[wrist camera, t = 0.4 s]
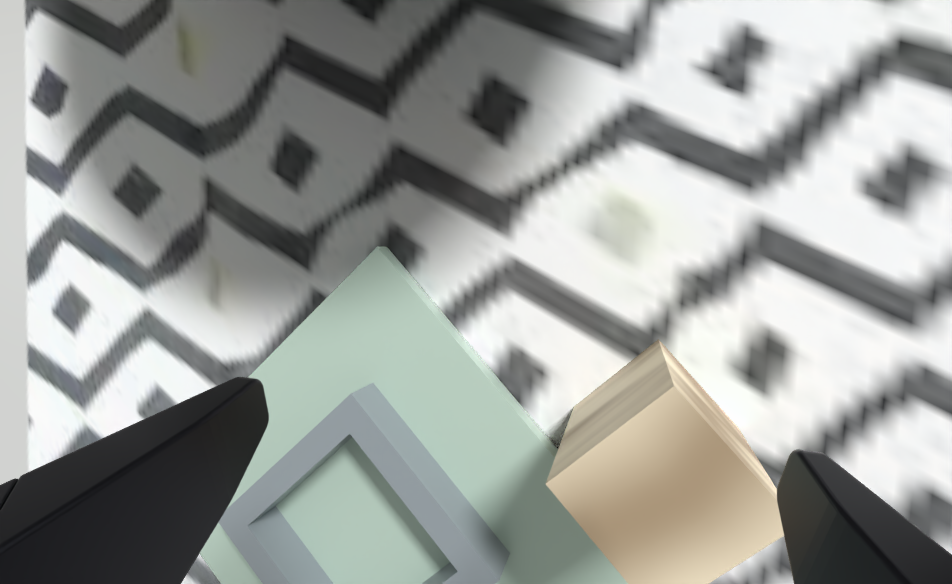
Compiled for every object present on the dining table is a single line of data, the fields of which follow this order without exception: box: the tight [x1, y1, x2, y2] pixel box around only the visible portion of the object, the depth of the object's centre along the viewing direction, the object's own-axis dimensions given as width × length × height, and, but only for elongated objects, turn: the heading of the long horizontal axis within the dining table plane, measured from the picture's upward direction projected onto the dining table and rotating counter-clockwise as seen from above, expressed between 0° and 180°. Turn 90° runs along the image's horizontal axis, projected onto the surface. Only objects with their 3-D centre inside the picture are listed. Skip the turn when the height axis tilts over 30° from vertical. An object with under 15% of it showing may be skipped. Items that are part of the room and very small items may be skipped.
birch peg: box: [546, 340, 784, 584], centre depth 18 cm, size 4×4×8 cm
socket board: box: [200, 247, 628, 584], centre depth 24 cm, size 18×18×3 cm
